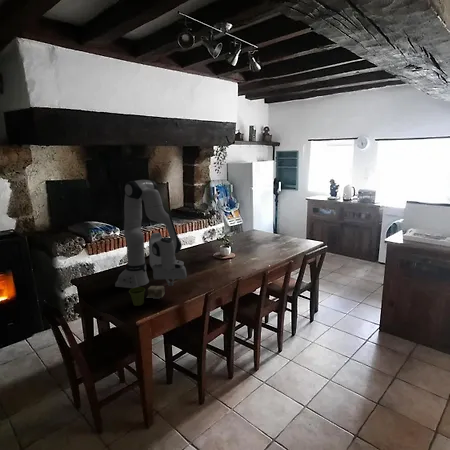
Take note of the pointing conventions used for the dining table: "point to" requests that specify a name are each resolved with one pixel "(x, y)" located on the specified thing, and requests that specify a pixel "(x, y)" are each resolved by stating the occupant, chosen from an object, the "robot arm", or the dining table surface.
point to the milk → (152, 257)
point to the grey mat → (154, 297)
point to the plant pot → (137, 295)
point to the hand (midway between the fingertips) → (170, 285)
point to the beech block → (156, 291)
